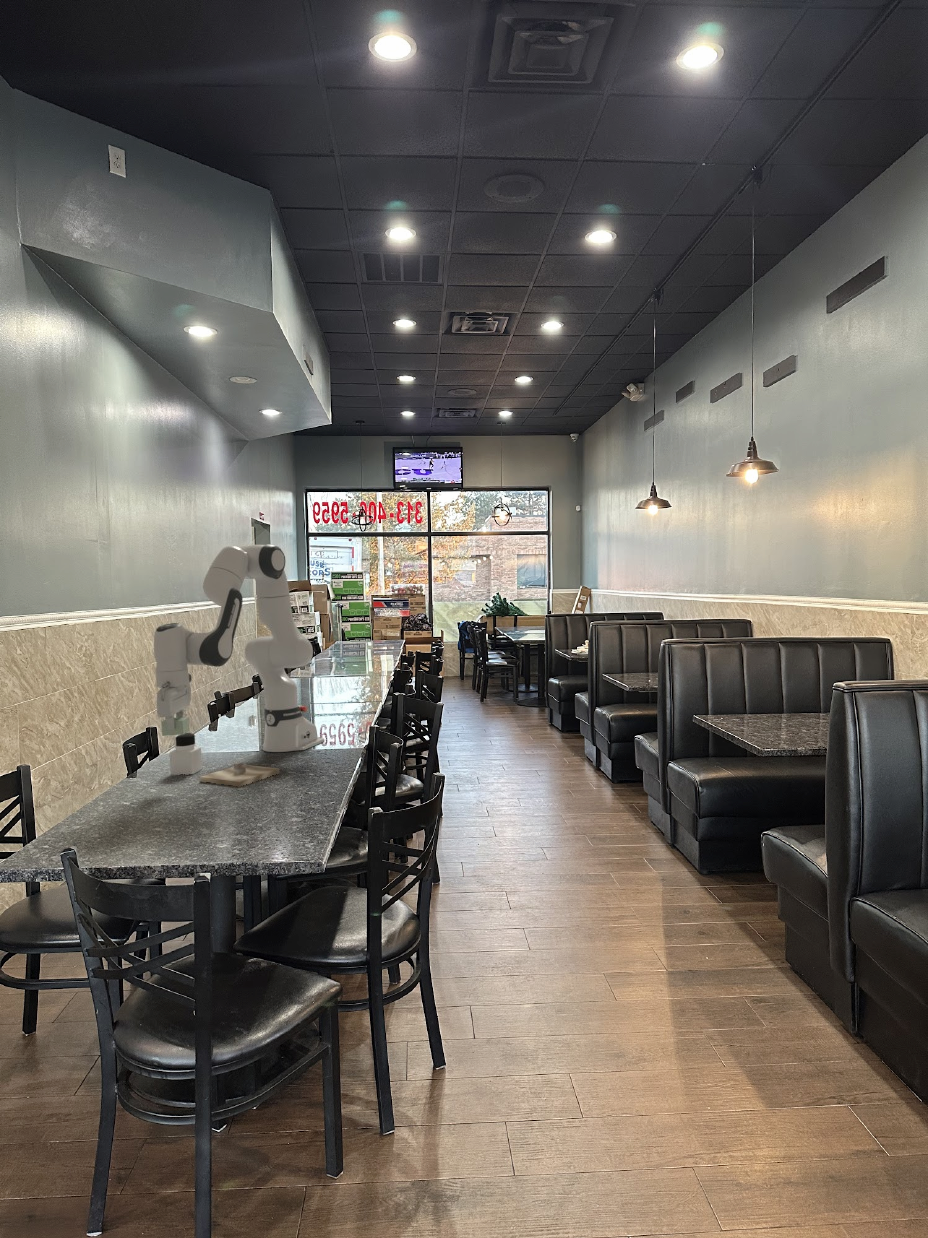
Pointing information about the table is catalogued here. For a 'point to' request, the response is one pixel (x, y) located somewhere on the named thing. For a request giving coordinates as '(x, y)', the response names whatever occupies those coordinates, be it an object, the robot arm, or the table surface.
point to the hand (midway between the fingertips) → (175, 727)
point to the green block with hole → (180, 725)
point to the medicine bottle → (185, 755)
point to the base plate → (239, 774)
